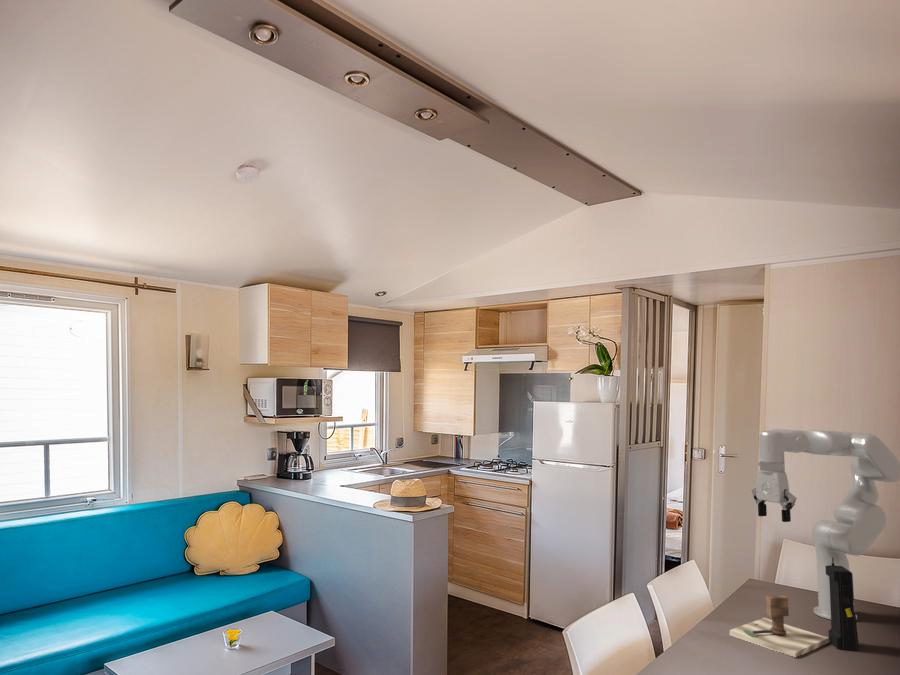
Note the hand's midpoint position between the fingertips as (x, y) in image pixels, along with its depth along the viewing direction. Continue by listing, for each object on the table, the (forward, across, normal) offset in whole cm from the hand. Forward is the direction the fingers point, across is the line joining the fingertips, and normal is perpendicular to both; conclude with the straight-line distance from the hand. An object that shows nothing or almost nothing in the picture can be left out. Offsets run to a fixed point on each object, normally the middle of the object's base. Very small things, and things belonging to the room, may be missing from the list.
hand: (774, 518), depth 208 cm
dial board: (+33, +12, -12) cm, 37 cm away
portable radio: (+34, +22, +2) cm, 40 cm away
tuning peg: (+31, +11, -15) cm, 37 cm away
